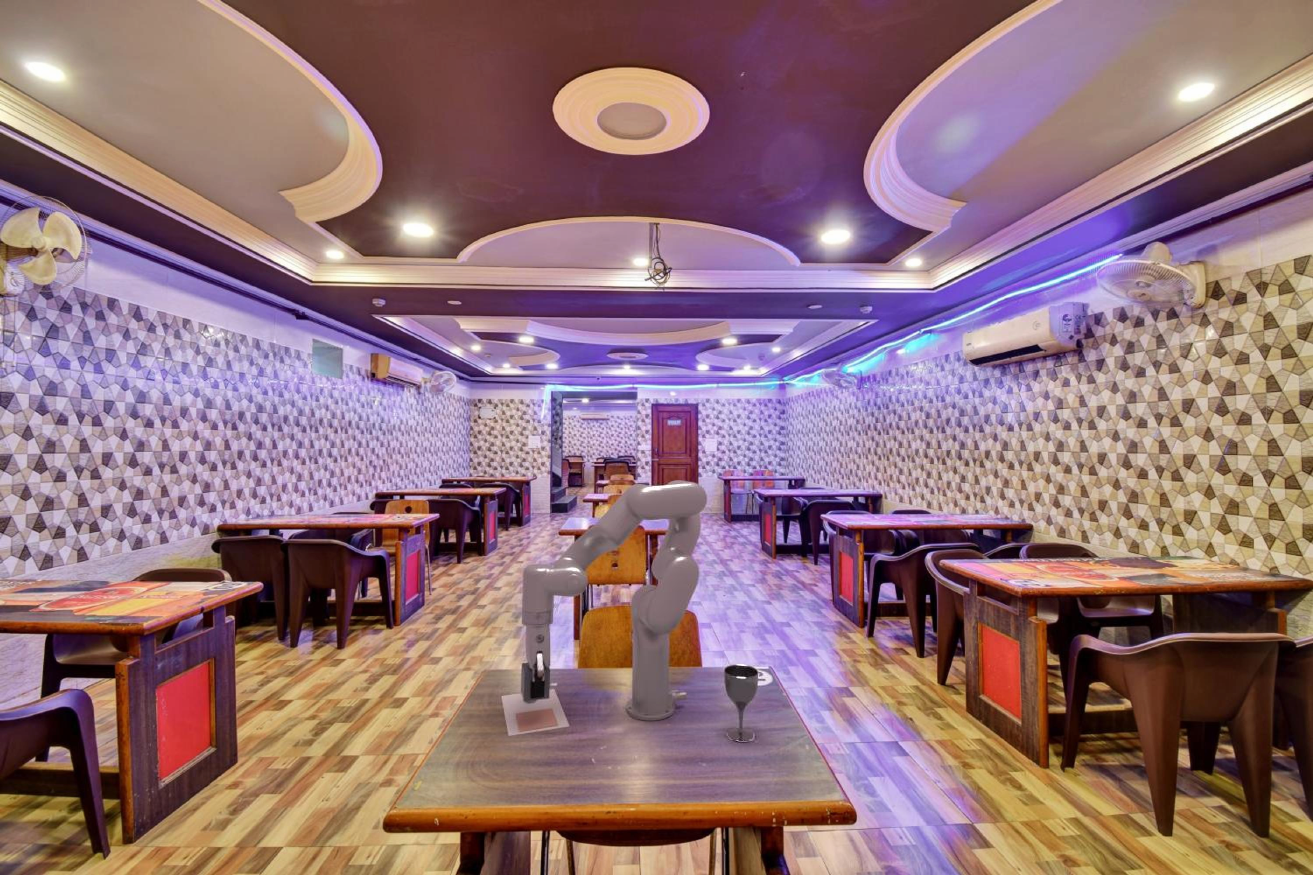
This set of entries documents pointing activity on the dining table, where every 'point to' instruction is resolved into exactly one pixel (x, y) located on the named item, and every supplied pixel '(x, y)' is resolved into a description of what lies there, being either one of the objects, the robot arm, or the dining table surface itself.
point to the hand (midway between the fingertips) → (535, 690)
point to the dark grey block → (527, 678)
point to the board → (533, 714)
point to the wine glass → (740, 695)
